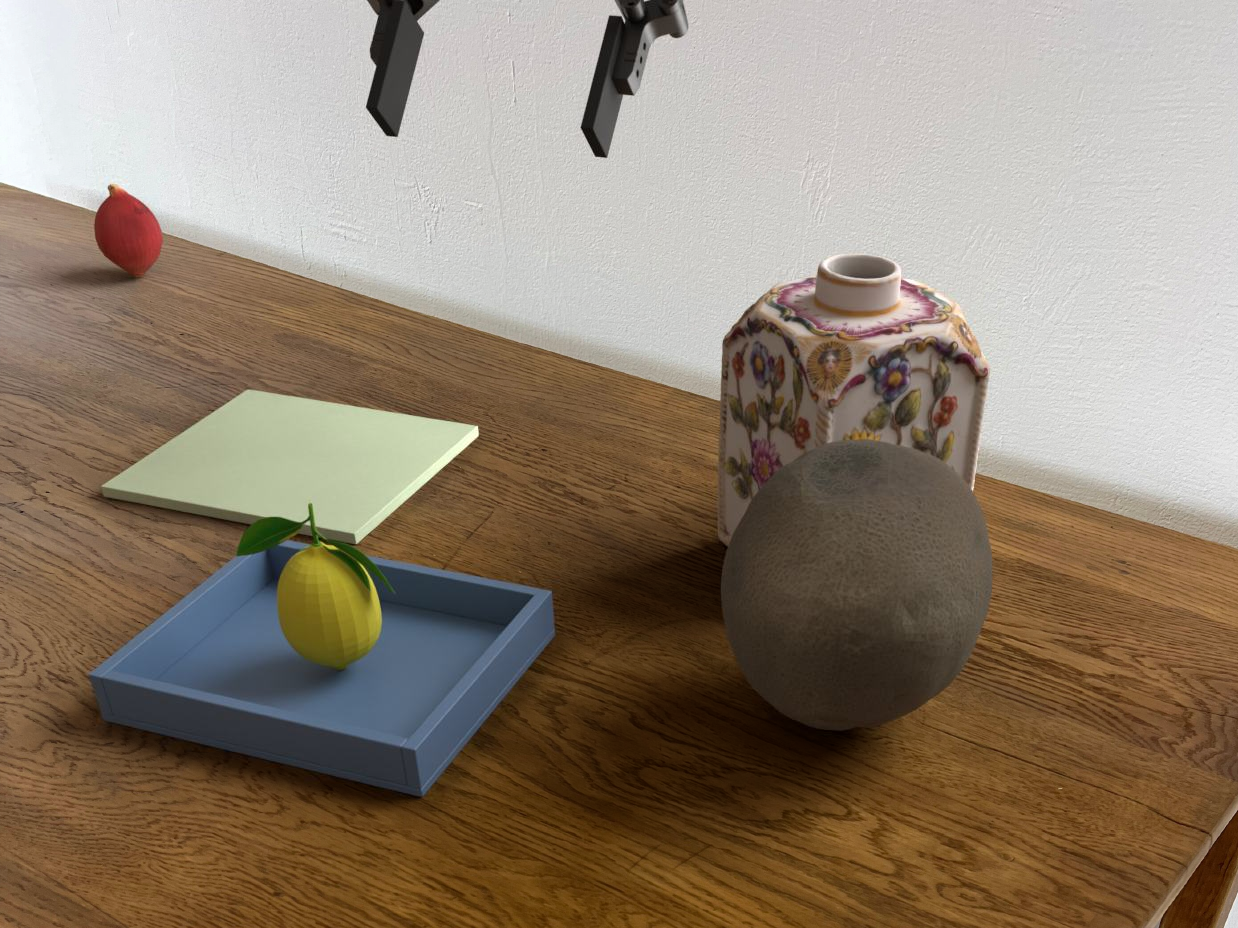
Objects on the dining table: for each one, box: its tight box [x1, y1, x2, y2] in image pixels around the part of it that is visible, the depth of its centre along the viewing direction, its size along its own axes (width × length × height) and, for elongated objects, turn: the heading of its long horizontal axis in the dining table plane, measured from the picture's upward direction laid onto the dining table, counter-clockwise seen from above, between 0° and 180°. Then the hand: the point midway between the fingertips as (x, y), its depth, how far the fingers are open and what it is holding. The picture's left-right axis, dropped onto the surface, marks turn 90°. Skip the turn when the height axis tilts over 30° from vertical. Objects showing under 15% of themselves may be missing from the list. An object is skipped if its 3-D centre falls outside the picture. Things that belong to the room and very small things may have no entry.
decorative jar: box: [717, 253, 991, 547], centre depth 81 cm, size 12×12×18 cm
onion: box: [93, 183, 164, 278], centre depth 125 cm, size 6×6×8 cm
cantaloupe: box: [720, 439, 994, 732], centre depth 69 cm, size 14×14×15 cm
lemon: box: [235, 503, 396, 670], centre depth 74 cm, size 7×6×10 cm
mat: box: [100, 388, 480, 545], centre depth 97 cm, size 20×18×1 cm
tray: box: [88, 539, 556, 798], centre depth 76 cm, size 20×17×3 cm
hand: (485, 133), depth 78 cm, fingers open, 13 cm apart
